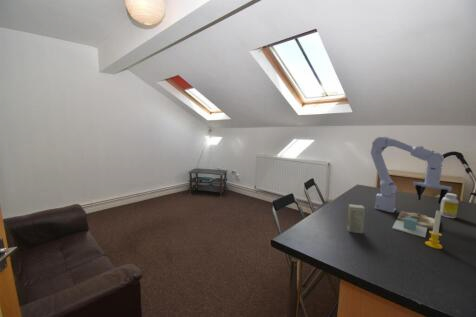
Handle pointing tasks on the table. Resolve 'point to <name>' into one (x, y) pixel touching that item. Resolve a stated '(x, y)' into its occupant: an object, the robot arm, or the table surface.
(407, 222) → the teal cube
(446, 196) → the supplement bottle
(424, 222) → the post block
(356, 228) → the skincare box
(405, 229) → the coaster
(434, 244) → the candle
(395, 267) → the table surface
